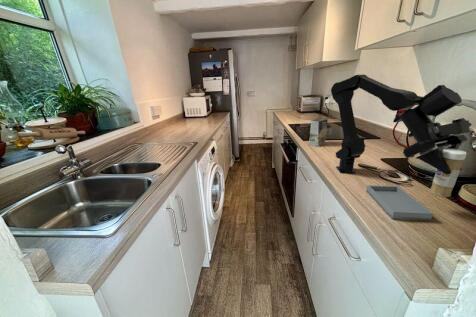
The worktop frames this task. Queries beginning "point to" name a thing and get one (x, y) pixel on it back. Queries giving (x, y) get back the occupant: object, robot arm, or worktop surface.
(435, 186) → the sprinkles bottle
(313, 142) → the coffee box
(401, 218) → the tray
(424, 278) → the worktop surface
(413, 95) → the robot arm
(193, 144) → the worktop surface
